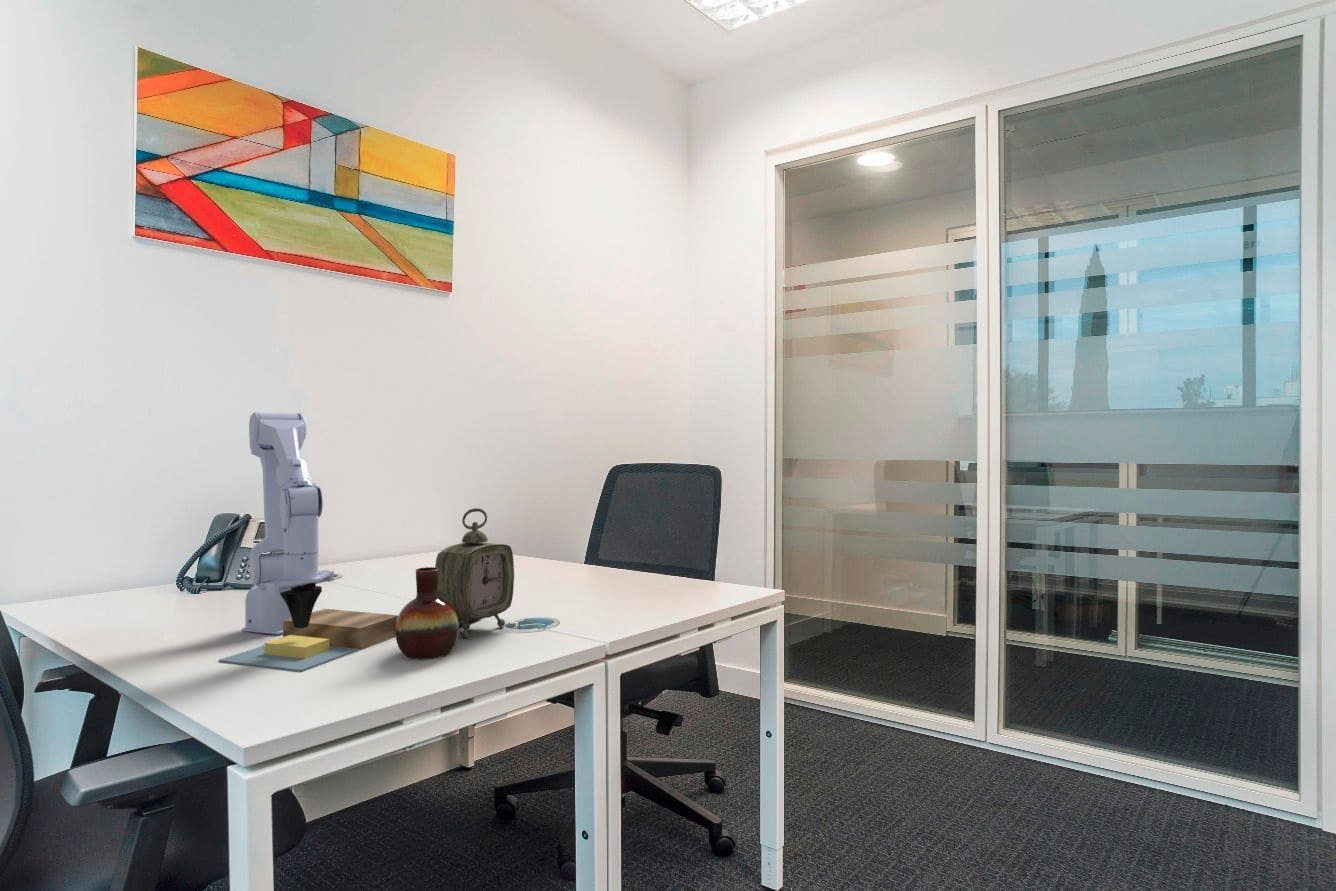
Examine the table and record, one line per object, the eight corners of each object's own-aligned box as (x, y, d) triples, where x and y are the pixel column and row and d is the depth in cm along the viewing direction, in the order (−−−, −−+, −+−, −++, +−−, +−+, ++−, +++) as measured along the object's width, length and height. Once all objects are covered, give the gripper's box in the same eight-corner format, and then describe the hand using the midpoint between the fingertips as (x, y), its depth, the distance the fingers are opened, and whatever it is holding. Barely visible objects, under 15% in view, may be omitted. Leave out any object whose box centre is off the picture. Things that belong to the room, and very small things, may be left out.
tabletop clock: (464, 642, 152) (465, 512, 152) (430, 636, 156) (430, 510, 156) (513, 626, 164) (514, 506, 164) (481, 621, 169) (481, 504, 169)
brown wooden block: (282, 641, 152) (282, 620, 152) (324, 628, 162) (324, 608, 162) (360, 649, 146) (360, 628, 146) (398, 635, 156) (398, 615, 156)
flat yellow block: (289, 634, 147) (289, 645, 147) (264, 642, 142) (264, 654, 142) (329, 639, 145) (329, 649, 145) (305, 647, 139) (305, 658, 139)
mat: (218, 661, 138) (218, 659, 138) (280, 641, 151) (280, 640, 151) (301, 671, 132) (301, 669, 132) (358, 650, 146) (358, 648, 146)
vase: (390, 663, 137) (390, 575, 137) (399, 646, 148) (399, 564, 148) (456, 660, 140) (456, 573, 139) (460, 644, 150) (460, 563, 150)
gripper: (288, 559, 136) (288, 638, 136) (347, 548, 149) (346, 619, 150) (255, 557, 138) (255, 634, 138) (316, 546, 152) (316, 617, 152)
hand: (301, 627), depth 144 cm, fingers closed
